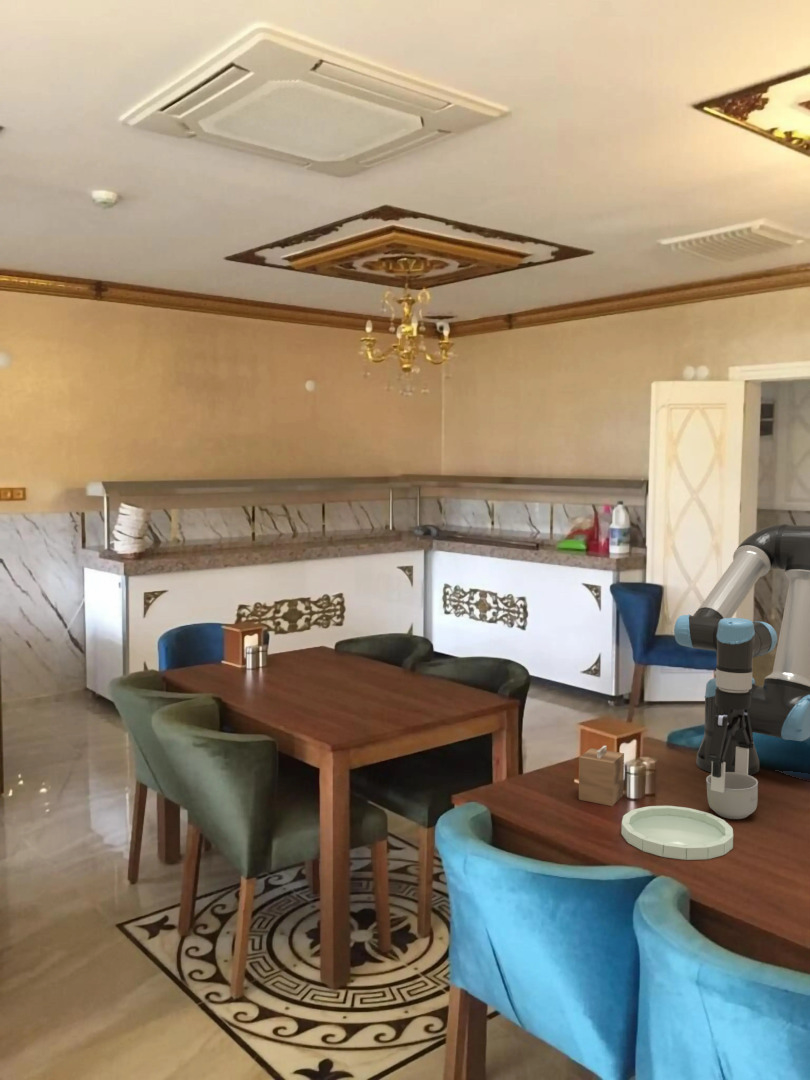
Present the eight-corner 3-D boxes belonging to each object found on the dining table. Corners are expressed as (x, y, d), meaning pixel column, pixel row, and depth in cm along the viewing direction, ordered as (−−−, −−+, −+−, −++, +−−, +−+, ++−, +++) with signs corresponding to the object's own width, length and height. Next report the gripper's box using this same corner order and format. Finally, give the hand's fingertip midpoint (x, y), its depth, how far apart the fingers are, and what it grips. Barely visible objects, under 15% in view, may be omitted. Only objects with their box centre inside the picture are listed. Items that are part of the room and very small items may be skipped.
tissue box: (590, 788, 219) (591, 741, 218) (623, 795, 215) (624, 746, 214) (578, 799, 212) (579, 750, 211) (612, 806, 208) (613, 756, 207)
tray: (651, 808, 207) (651, 798, 206) (749, 834, 192) (749, 823, 192) (602, 839, 190) (603, 827, 190) (706, 869, 176) (706, 857, 176)
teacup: (761, 825, 197) (762, 789, 197) (708, 821, 199) (709, 785, 199) (750, 802, 211) (751, 767, 210) (700, 798, 213) (701, 764, 212)
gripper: (737, 677, 215) (734, 766, 216) (693, 695, 196) (689, 793, 197) (770, 682, 210) (766, 773, 211) (728, 701, 191) (724, 801, 192)
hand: (729, 783), depth 204 cm, fingers open, 13 cm apart
